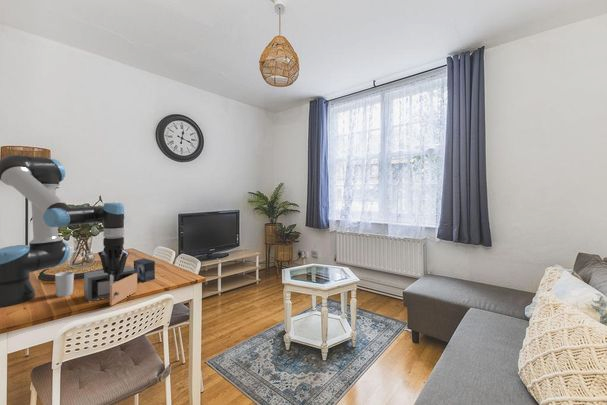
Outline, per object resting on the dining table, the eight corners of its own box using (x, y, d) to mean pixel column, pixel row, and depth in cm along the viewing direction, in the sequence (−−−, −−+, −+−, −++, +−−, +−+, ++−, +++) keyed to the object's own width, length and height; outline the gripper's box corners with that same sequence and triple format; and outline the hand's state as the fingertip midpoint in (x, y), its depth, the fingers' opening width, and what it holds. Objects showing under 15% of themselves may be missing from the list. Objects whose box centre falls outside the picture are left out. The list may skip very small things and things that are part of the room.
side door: (114, 305, 111) (114, 285, 111) (109, 305, 111) (109, 285, 111) (139, 291, 127) (139, 273, 127) (135, 291, 127) (135, 273, 127)
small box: (132, 278, 145) (132, 260, 145) (144, 275, 151) (144, 257, 150) (143, 282, 140) (143, 263, 140) (155, 279, 146) (155, 260, 146)
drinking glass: (74, 294, 122) (74, 274, 121) (54, 298, 117) (54, 276, 116) (73, 290, 126) (73, 270, 126) (54, 293, 122) (54, 273, 121)
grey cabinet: (88, 302, 114) (88, 278, 114) (84, 295, 121) (84, 272, 120) (135, 291, 128) (135, 269, 127) (129, 286, 134) (129, 265, 134)
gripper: (92, 237, 113) (92, 290, 114) (121, 239, 112) (121, 291, 114) (106, 234, 120) (106, 284, 121) (133, 236, 120) (133, 285, 121)
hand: (113, 288), depth 117 cm, fingers closed
